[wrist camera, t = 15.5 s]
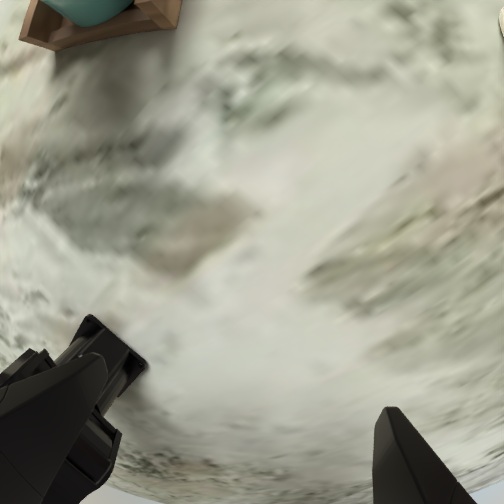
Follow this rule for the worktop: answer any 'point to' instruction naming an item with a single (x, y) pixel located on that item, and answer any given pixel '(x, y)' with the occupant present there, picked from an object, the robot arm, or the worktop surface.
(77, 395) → the robot arm
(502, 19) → the cup
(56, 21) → the small wooden crate
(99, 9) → the teal lidded canister
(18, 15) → the worktop surface
